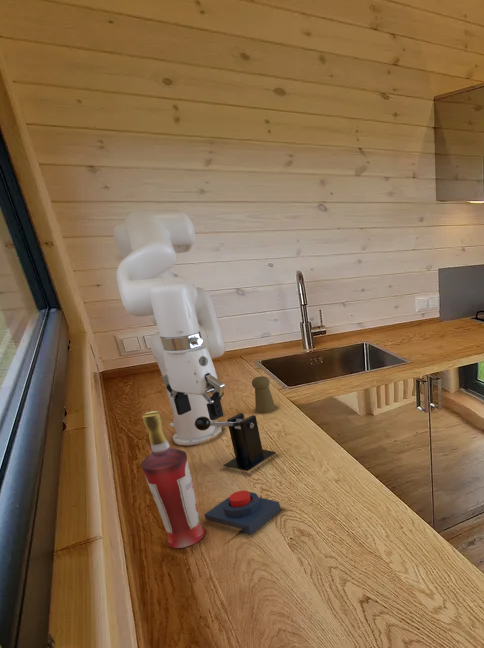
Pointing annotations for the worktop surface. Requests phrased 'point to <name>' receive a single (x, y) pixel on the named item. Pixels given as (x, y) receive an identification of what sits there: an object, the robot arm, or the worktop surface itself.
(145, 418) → the liquor
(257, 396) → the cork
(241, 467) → the switch bracket
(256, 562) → the worktop surface
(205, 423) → the switch lever
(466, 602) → the worktop surface
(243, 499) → the switch button
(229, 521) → the switch box
